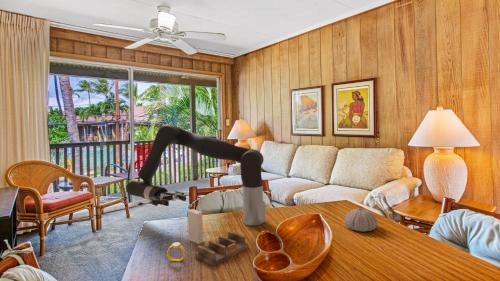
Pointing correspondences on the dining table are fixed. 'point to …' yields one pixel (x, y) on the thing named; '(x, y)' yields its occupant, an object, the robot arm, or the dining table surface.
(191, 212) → the panel
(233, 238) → the rack
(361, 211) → the sea urchin shell
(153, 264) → the dining table surface
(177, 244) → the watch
